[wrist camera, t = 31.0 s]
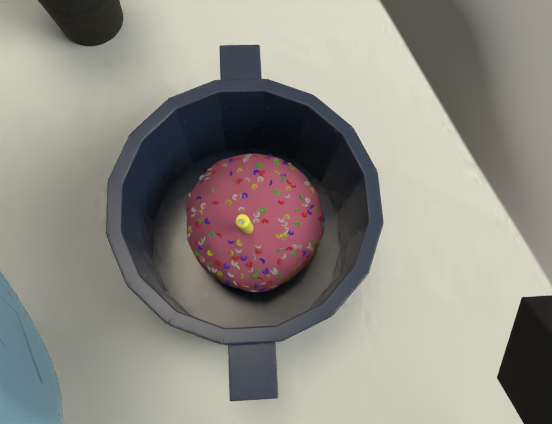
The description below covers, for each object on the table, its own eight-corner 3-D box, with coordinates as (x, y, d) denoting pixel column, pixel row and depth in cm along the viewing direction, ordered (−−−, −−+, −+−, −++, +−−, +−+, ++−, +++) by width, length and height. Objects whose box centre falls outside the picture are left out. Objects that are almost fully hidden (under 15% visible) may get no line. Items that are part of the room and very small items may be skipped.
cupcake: (293, 313, 33) (316, 298, 21) (174, 275, 33) (134, 238, 22) (328, 198, 35) (366, 127, 24) (216, 162, 36) (200, 75, 24)
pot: (140, 392, 32) (99, 411, 23) (144, 111, 37) (112, 39, 28) (362, 378, 33) (403, 391, 24) (336, 106, 38) (362, 35, 29)
